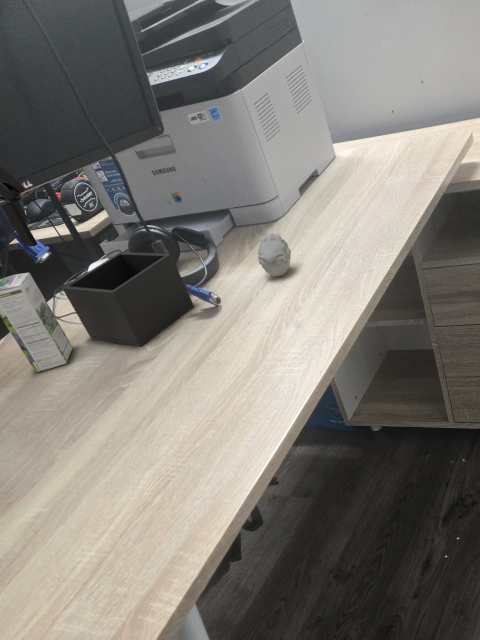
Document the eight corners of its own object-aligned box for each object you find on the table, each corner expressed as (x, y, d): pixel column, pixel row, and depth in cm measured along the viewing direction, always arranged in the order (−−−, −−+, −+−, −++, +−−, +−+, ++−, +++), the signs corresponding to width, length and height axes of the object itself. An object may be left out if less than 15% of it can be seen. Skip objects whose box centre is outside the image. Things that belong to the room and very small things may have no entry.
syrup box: (43, 357, 115) (-7, 280, 106) (75, 348, 115) (28, 270, 106) (36, 373, 111) (-17, 294, 101) (69, 363, 111) (19, 283, 101)
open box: (91, 339, 116) (61, 288, 110) (144, 301, 124) (120, 251, 117) (140, 346, 109) (112, 292, 103) (194, 306, 117) (171, 253, 110)
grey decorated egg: (299, 263, 121) (288, 225, 116) (292, 280, 116) (279, 241, 111) (269, 268, 122) (256, 231, 118) (260, 285, 117) (247, 247, 113)
